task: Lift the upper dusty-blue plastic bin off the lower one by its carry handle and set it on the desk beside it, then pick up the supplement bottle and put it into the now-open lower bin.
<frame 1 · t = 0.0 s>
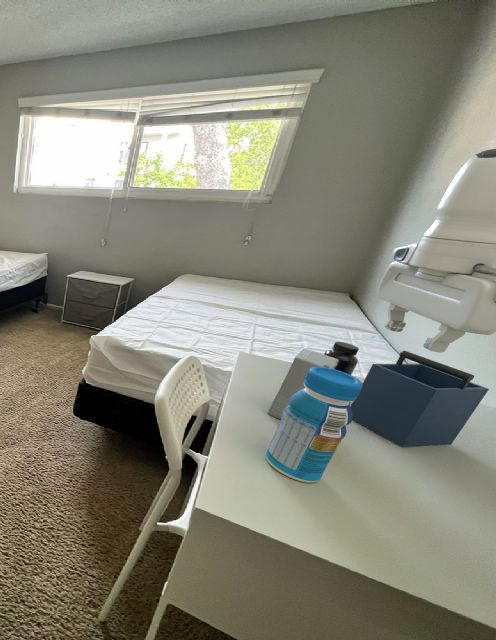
hand: (411, 339, 59), 26 cm above the table, tool pointing down, fingers open, 8 cm apart
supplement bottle: (328, 383, 99), on the table
lower bin: (395, 429, 80), on the table
cosmetic box: (288, 416, 82), on the table
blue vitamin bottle: (290, 468, 66), on the table
upper bin: (411, 403, 77), point 7 cm above the table, touching lower bin
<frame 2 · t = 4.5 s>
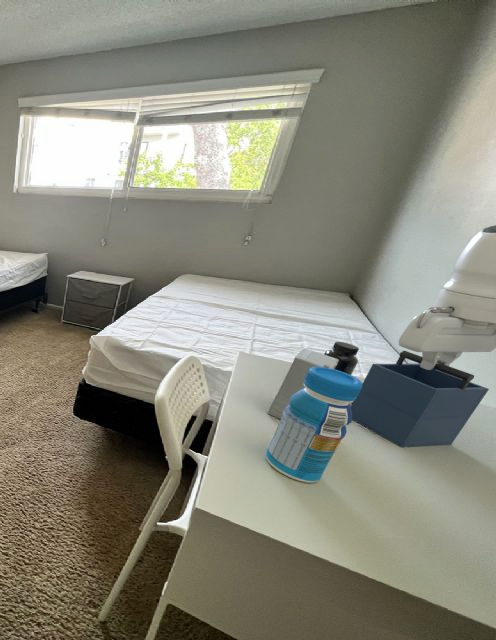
hand: (432, 368, 74), 16 cm above the table, tool pointing down, fingers closed on upper bin
upper bin: (411, 403, 77), point 7 cm above the table, touching gripper, lower bin
everything else where it was.
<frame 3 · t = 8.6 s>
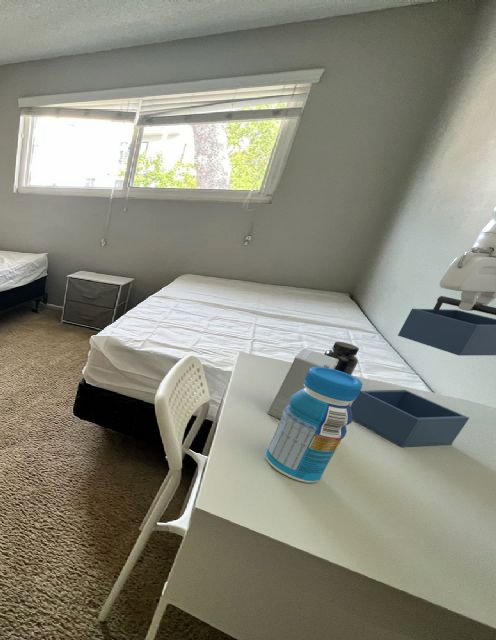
hand: (470, 310, 79), 27 cm above the table, tool pointing down, fingers closed on upper bin
upper bin: (448, 345, 82), point 18 cm above the table, touching gripper
everything else where it was.
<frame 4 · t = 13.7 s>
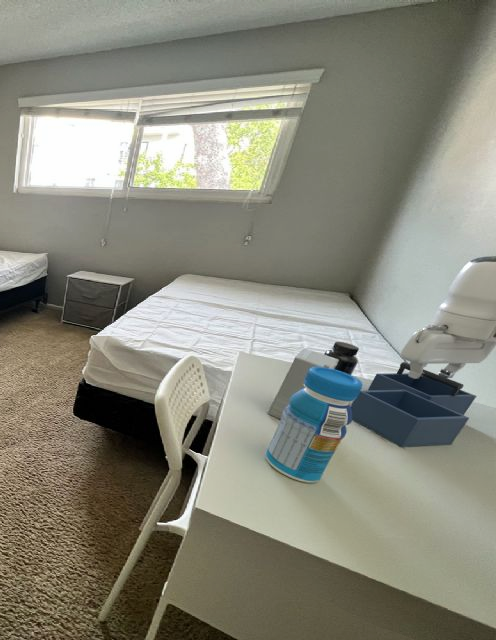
hand: (429, 377, 86), 9 cm above the table, tool pointing down, fingers open, 8 cm apart
upper bin: (410, 408, 89), on the table
everything else where it was.
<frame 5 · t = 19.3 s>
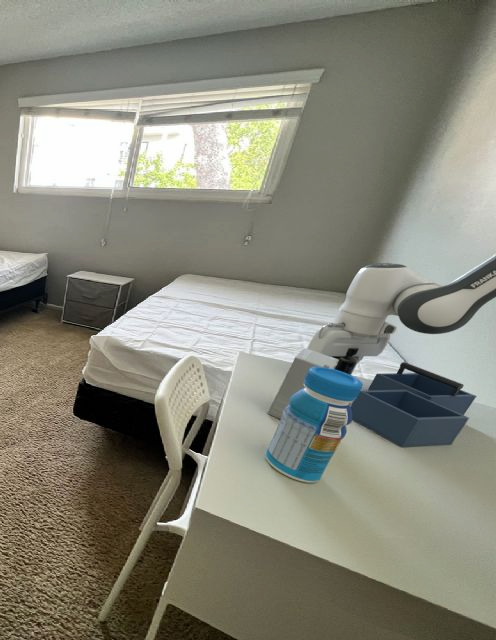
hand: (335, 368, 97), 5 cm above the table, tool pointing down, fingers closed on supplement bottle, 7 cm apart
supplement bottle: (327, 383, 99), on the table, touching gripper
everything else where it was.
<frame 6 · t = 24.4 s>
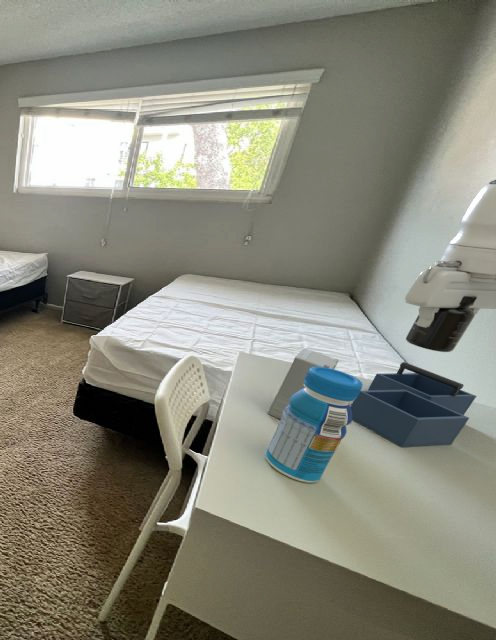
hand: (439, 326, 74), 24 cm above the table, tool pointing down, fingers closed on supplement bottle, 7 cm apart
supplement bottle: (427, 346, 75), point 20 cm above the table, touching gripper
everything else where it was.
when the fingers open (5 cm above the table, at t = 29.6 s): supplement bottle stays where it is, resting on lower bin.
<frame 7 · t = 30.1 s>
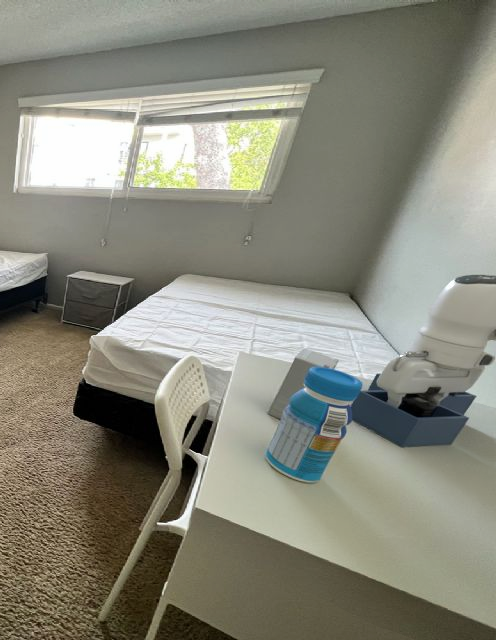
hand: (409, 407, 77), 6 cm above the table, tool pointing down, fingers open, 8 cm apart
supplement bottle: (396, 428, 79), resting on lower bin
everything else where it was.
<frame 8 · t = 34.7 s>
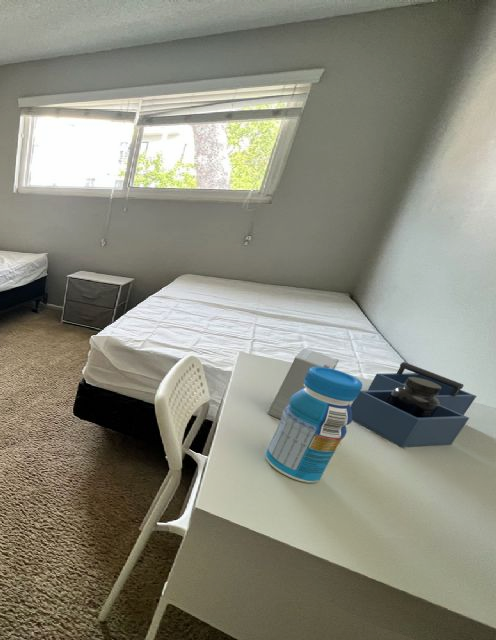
nothing on the table moved.
at the end: upper bin inside the target area (0.1 cm from its centre), on the table; upper bin tilted 0°; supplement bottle inside the target area in the lower bin (0.0 cm from its centre), point 0.4 cm above the lower bin's base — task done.
